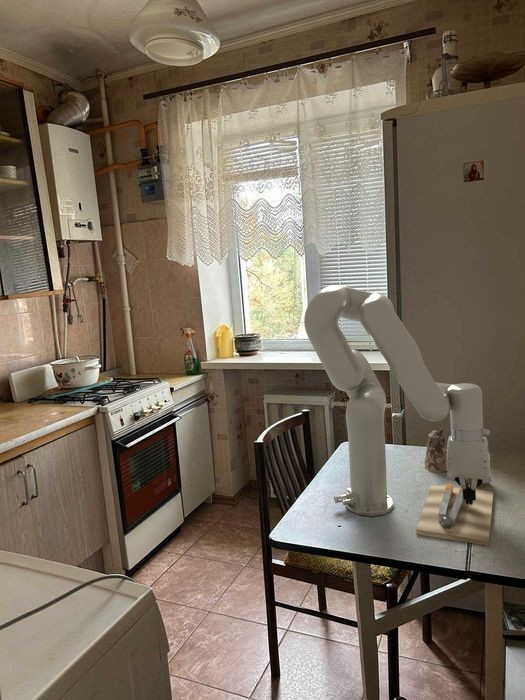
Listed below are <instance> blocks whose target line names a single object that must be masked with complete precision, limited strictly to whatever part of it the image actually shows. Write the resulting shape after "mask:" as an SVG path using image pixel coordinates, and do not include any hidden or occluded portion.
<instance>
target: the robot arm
mask: <svg viewBox="0 0 525 700" xmlns="http://www.w3.org/2000/svg"><path fill="white" fill-rule="evenodd" d="M340 318H342V319H347V320H351V321H353V322H354V321H355V322H359V323H360V324H361V326H362V327H363V328H364V330H365V332H366V333H367V334H368V336H369V337H370V339H371V340H372V342H373V343H374V345H375V346H376V348H377V349H378V351H379V353H381V355H382V356H383V358H384V360H385V361H386V363H387V365H388V367H389V369H390V371H391V372H392V373H393V376H394V378H395V379H396V381H397V382H398V385H400V387H401V389H402V391H403V393H404V395H405V396H406V397H407V399H408V401H410V403H411V405H412V406H413V408H414V409H415V411H417V414H419V416H420V417H421V418H423V419H424V420H426V421H428V422H433V423H434V422H435V423H436V422H440V421H443V420H445V418H447V417H448V415H449V418H450V435H449V436H448V439H447V444H446V450H447V470H446V472H447V473H446V474H445V475H446V476H445V478H446V479H447V480H450V481H452V482H455V483H457V484H458V485H459V486H460V487H461V488H462V489H463V499H466V504H470V505H473V500H476V490H477V488H479V487H478V486H480V485H481V484H482V483H489V484H490V483H492V480H493V478H492V475H491V456H490V455H491V453H490V447H489V441H488V439H487V437H486V436H490V429H487V428H485V427H484V423H483V422H484V420H483V419H484V417H483V415H484V413H483V392H482V389H481V387H480V385H478V384H475V383H471V382H469V383H468V382H467V383H466V382H464V383H457V384H456V383H455V384H454V383H453V384H452V383H443V382H436V381H435V380H434V378H433V377H432V374H431V373H430V371H429V369H428V368H427V366H426V364H425V362H424V359H423V357H422V353H421V351H420V348H419V346H418V344H417V342H416V341H415V339H414V337H412V335H411V334H410V332H409V331H408V329H407V328H406V327H405V325H404V323H403V322H402V321H401V319H400V318H399V316H398V315H397V313H396V311H395V307H394V304H393V302H392V300H390V298H388V297H387V296H385V295H384V294H383V295H382V294H379V293H374V292H371V291H366V290H362V289H357V288H353V287H349V286H345V285H340V284H339V285H338V284H335V285H330V286H327V287H324V288H323V289H321V290H319V291H318V292H317V293H316V294H315V295H314V296H313V297H312V299H311V300H310V301H309V304H307V307H306V310H305V312H304V320H303V321H304V323H303V324H304V330H305V333H306V335H307V337H308V340H309V341H310V343H311V346H312V347H313V349H314V351H315V353H316V355H317V357H318V359H319V361H320V363H321V365H322V367H323V368H324V370H325V372H326V374H327V377H328V378H329V380H330V382H331V384H332V386H334V387H335V389H338V390H339V391H342V392H346V394H347V396H348V398H349V400H348V402H347V404H346V410H345V422H346V428H347V438H348V439H347V441H348V458H349V461H348V462H349V478H350V487H347V490H346V491H347V492H344V494H343V493H342V494H338V495H334V496H333V501H334V503H335V504H339V503H342V505H343V506H345V507H346V508H347V509H348V510H349V511H350V512H352V513H354V514H357V515H360V516H361V515H362V516H368V517H369V516H370V517H373V516H376V517H377V516H381V515H384V514H387V513H388V512H390V511H392V509H393V508H394V500H393V498H392V497H391V496H389V495H388V487H387V486H388V484H387V482H388V480H387V460H386V458H387V457H386V456H387V455H386V453H387V452H386V451H387V450H386V436H385V435H386V432H385V413H386V411H385V410H386V406H387V397H386V393H385V391H384V389H383V386H382V385H381V383H380V381H379V379H378V377H377V375H376V373H375V372H374V369H373V368H372V367H371V365H370V363H369V361H368V360H367V358H366V356H365V355H364V354H363V353H362V352H360V351H358V349H357V350H356V349H353V348H352V347H351V346H350V344H349V343H348V341H347V338H346V337H345V335H344V333H343V332H342V330H341V329H340V325H339V320H340ZM467 478H471V479H472V483H471V484H470V485H468V483H467V481H466V479H467Z"/></svg>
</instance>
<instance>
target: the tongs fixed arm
mask: <svg viewBox="0 0 525 700" xmlns="http://www.w3.org/2000/svg"><path fill="white" fill-rule="evenodd" d="M445 486H446V487H445V492H444V496H443V499H442V502H441V506H440V509H439V513H438V521H440V522H441V516H443V515H447V514H448V510H449V506H450V502H451V498H452V496H453V492H454V489H453V487H454V483H453V484H452V483H445Z"/></svg>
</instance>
